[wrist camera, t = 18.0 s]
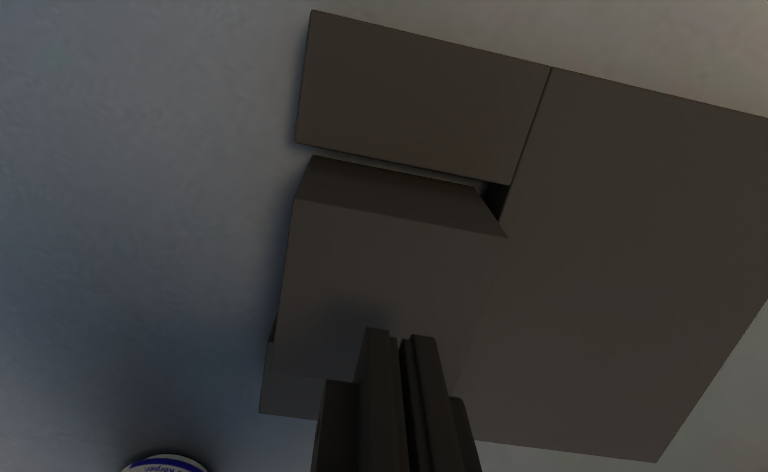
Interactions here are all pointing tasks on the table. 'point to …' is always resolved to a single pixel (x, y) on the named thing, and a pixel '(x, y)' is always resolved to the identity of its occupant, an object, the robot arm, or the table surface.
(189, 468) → the beverage can
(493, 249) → the dark brown block
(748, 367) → the table surface
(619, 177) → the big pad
